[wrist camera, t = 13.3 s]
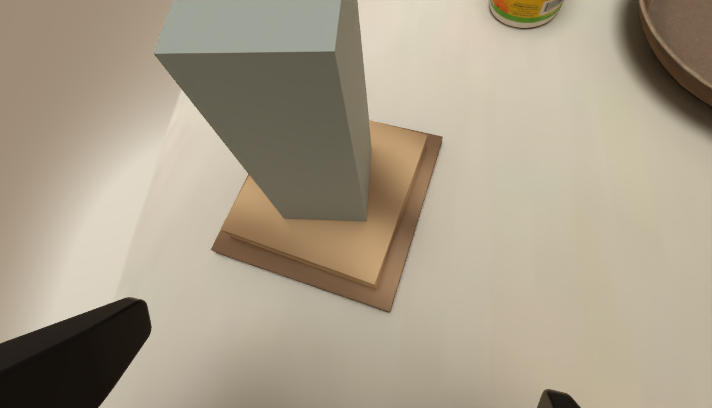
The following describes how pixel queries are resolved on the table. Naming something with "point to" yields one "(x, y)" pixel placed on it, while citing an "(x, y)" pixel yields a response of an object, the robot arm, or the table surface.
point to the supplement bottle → (525, 11)
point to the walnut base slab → (335, 283)
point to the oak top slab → (335, 237)
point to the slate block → (280, 95)
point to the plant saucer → (682, 41)
